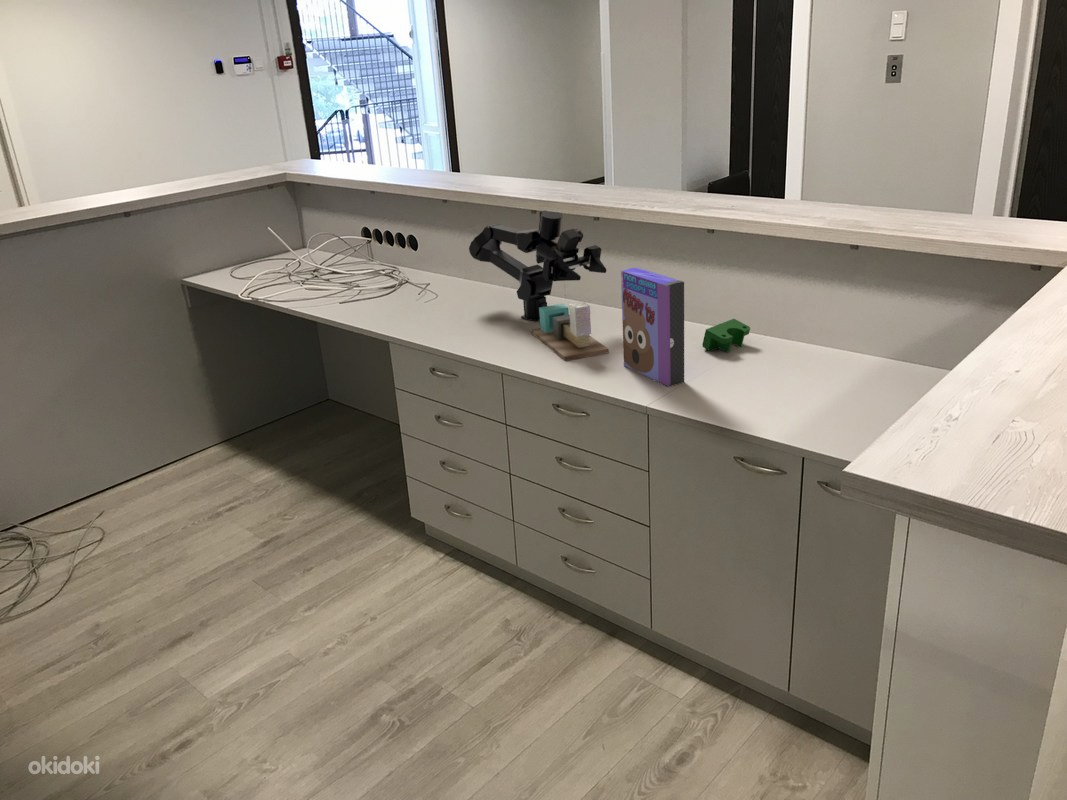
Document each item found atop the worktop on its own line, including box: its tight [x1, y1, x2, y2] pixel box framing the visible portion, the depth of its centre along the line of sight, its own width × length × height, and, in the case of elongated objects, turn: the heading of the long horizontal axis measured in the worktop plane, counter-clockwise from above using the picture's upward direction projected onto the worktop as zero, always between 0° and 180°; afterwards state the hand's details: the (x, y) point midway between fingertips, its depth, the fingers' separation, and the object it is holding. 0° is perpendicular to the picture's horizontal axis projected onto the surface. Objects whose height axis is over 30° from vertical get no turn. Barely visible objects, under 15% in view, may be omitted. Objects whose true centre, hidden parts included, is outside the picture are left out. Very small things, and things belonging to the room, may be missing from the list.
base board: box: [530, 327, 610, 362], centre depth 233 cm, size 26×12×1 cm, turn 20°
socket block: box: [539, 303, 570, 333], centre depth 240 cm, size 4×7×6 cm, turn 110°
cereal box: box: [620, 267, 685, 388], centre depth 204 cm, size 17×5×24 cm, turn 29°
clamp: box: [701, 318, 751, 353], centre depth 221 cm, size 12×6×9 cm, turn 124°
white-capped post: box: [561, 301, 592, 348], centre depth 227 cm, size 16×4×10 cm, turn 20°
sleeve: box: [553, 313, 570, 341], centre depth 233 cm, size 4×5×5 cm
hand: (593, 274), depth 231 cm, fingers open, 9 cm apart
